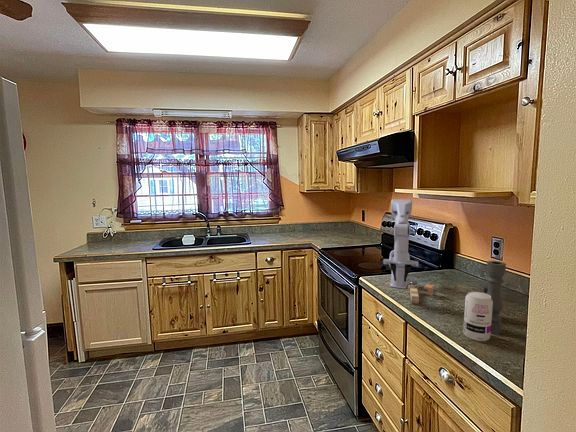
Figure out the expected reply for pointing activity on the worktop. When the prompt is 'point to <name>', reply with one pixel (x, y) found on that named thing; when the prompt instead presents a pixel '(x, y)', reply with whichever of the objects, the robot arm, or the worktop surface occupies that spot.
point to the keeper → (429, 288)
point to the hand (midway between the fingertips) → (399, 280)
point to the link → (414, 294)
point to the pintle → (413, 283)
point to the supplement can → (478, 316)
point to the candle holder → (495, 292)
